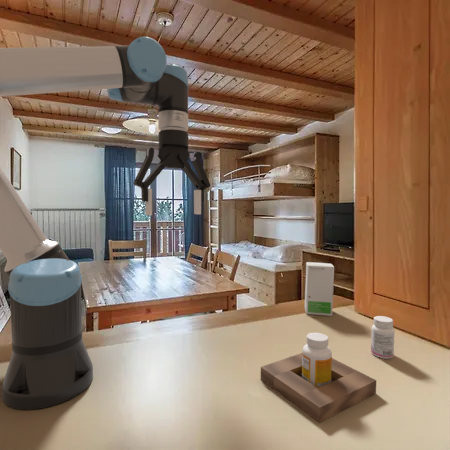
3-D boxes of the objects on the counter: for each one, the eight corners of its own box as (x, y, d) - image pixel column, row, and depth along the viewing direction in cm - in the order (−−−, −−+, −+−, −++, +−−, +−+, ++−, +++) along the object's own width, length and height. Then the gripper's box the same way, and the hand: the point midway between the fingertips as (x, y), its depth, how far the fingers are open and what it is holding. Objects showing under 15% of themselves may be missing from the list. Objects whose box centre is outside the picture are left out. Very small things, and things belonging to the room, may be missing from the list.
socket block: (319, 422, 52) (319, 407, 51) (260, 379, 64) (260, 366, 64) (375, 393, 60) (376, 380, 59) (313, 359, 72) (313, 348, 72)
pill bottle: (374, 347, 78) (375, 313, 78) (395, 353, 75) (397, 318, 75) (368, 355, 75) (369, 319, 74) (390, 361, 72) (392, 324, 71)
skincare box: (305, 314, 101) (306, 265, 100) (304, 307, 108) (305, 261, 107) (333, 316, 100) (334, 266, 99) (330, 309, 106) (331, 262, 105)
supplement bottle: (334, 383, 63) (335, 334, 62) (326, 397, 58) (328, 345, 58) (306, 375, 66) (308, 328, 65) (297, 388, 61) (298, 338, 60)
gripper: (128, 121, 73) (130, 216, 74) (222, 134, 86) (222, 214, 87) (119, 128, 79) (121, 215, 81) (209, 138, 92) (209, 213, 94)
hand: (174, 214), depth 84 cm, fingers open, 13 cm apart
